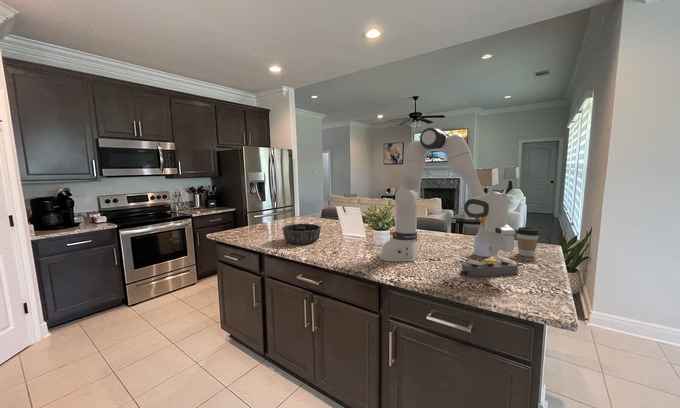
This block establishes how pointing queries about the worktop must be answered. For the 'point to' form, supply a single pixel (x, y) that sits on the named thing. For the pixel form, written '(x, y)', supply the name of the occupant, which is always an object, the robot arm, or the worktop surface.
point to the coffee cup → (527, 241)
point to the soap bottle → (481, 245)
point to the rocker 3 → (505, 260)
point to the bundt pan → (301, 233)
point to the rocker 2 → (490, 261)
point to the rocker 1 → (475, 262)
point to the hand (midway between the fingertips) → (492, 255)
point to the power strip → (489, 269)
